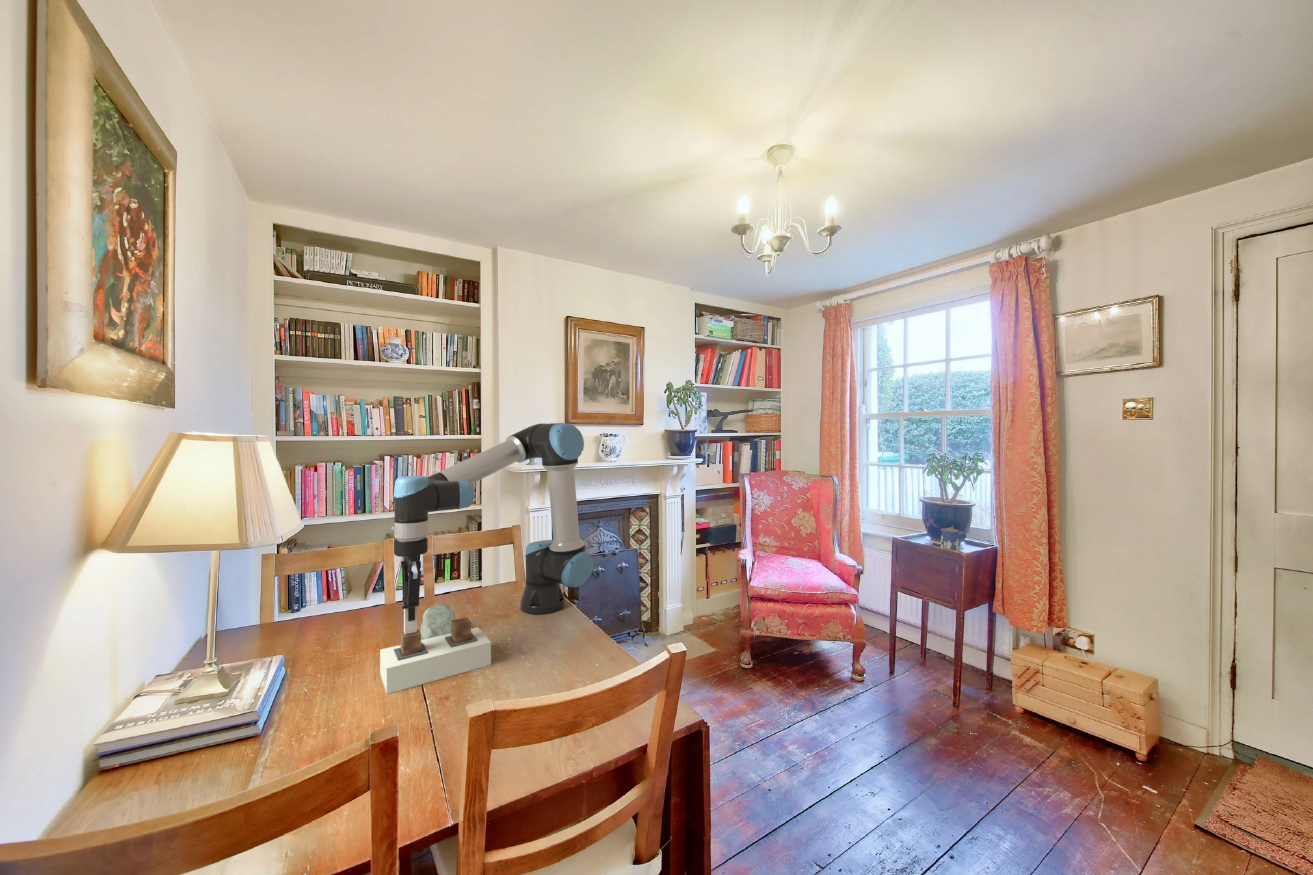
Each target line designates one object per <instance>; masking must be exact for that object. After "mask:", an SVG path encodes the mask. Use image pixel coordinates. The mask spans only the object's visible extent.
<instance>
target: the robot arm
mask: <svg viewBox="0 0 1313 875" xmlns="http://www.w3.org/2000/svg"><path fill="white" fill-rule="evenodd" d="M584 449H585V441H584V437H583V434H582V433H581V430H579V428H577V427H576V426H575V425H574V424H571V423H566V422H554V423H553V422H552V423H537V424H533V425H531V426H528V427H526V428H524V429H521V430H519V431H518V432H515V433H513V434H511V435H509V436H507V437H506V439H505V441H504V442H501V443H499V444H496V445H494V446H493V447H490V448H488V449H486V450H484V451H481V452H479V453H477V454H475V455H473V456H471V457H468V458H467V459H464V460H462V461H459V462H457V463H456V464H453V465H451V466H449V467H447V468H445V469H443V470H440V471H438V472H436V473H434V474H432V475H430V476H425V475H406V476H404V475H403V476H399V477H397V478H396V480H395V483H394V487H393V488H394V489H393V491H394V492H393V503H394V505H393V508H394V512H393V513H394V519H393V520H394V522H393V523H394V526H393V525H392V526H391V528H390V529H391V531H394V533H393V535H394V537H393V538H395V540H394V541H393V554H394V556H396V557H399V558H403V560H401V561H400V567H401V583H402V584H401V586H402V587H401V588H402V589H401V590H402V598H401V599H402V601H403V605H402V610H403V632H404V634H409V633H414V632H417V629H418V607H419V605H420V590H421V589H420V588H421V579H422V578H421V577H422V573H423V572H422V570H421V568H422V563H421V562H422V561H420V559H419V556H421V555H424V554H427V552H428V550H429V549H428V547H429V546H428V545H429V542H428V539H429V538H427V536H429V513H434V512H441V511H444V512H445V511H453V510H461V509H465V508H469V507H471V506H472V504H473V503H474V500H475V489H474V486H473V484H475V483H476V482H477V483H478V481H481V480H484V479H485V478H487V477H489V476H491V475H493V474H495V473H496V472H499V471H501V470H502V469H505V468H506V467H509V466H512V464H515V463H523V462H526V461H527V460H531V459H538V458H539V459H541V465H542V467H543V468H544V469H545V470H546V471H547V477H548V491H549V492H548V493H549V502H550V514H551V515H550V516H551V529H552V536H553V537H552V539H545V540H538V541H537V540H536V541H533V542H529V543H528V544H527V545H526V546H525V547H526V548H525V555H524V556H525V587H524V591H523V593H522V596H521V599H520V603H519V604H520V609H519V610H521V611H522V612H523V613H526V614H531V615H545V614H551V613H555V612H557V611H560V610H562V609H563V608H564V607H565V597H564V593H563V590H562V587H561V585H562V586H564V587H571V588H578V587H580V586H583V585H584V584H585V583H586V582H587V581H588V579H589V577H590V576H591V575H592V573H593V569H594V560H593V559H594V558H593V557H592V555H590V553H588V552H587V551H586V547H585V546H586V544H585V541H584V540H583V539H581V538H580V529H579V528H580V527H579V526H580V525H579V516H578V513H579V512H578V503H577V491H576V490H577V489H576V479H575V478H576V477H575V476H576V475H575V467H576V466H577V465H578V464H579V457H580V456H581V455H582V452H584ZM563 606H564V607H563ZM561 608H562V609H561Z"/></svg>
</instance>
